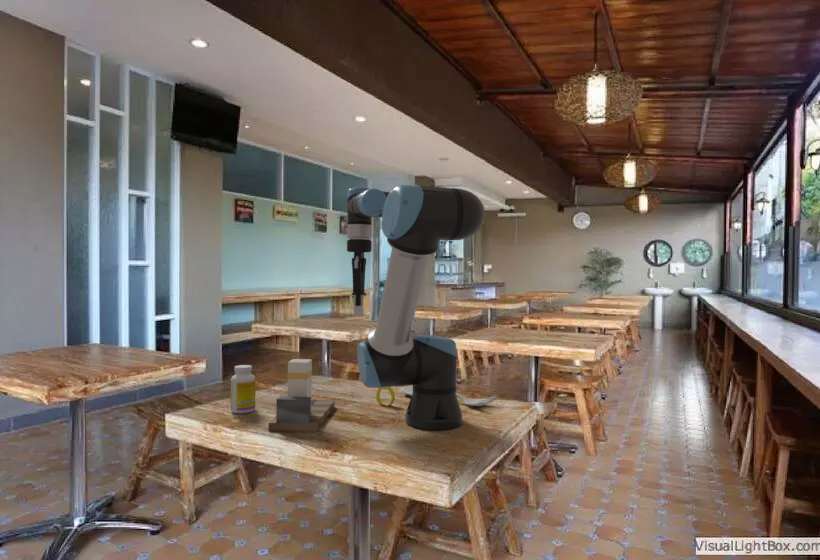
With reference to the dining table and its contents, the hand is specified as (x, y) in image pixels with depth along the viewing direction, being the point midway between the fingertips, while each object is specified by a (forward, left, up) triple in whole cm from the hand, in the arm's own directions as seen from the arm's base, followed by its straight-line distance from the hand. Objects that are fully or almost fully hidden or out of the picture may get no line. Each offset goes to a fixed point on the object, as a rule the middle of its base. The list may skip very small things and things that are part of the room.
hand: (358, 316), depth 159 cm
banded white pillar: (-1, +26, -24) cm, 36 cm away
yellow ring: (-9, -2, -27) cm, 28 cm away
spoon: (-21, -17, -27) cm, 38 cm away
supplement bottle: (+20, +27, -27) cm, 43 cm away
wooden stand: (+1, +22, -26) cm, 34 cm away
